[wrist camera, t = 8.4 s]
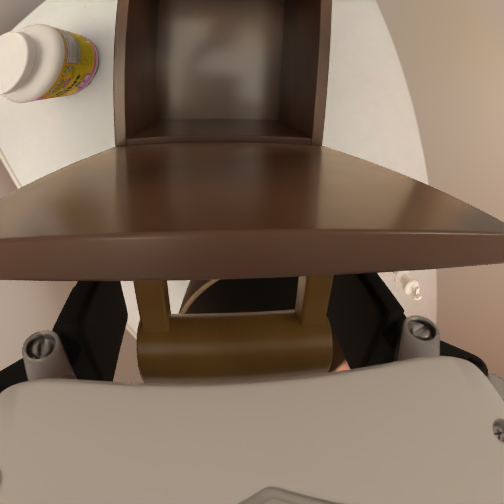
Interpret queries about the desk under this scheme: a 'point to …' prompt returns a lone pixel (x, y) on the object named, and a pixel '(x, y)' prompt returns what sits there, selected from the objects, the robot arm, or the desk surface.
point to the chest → (221, 71)
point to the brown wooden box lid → (234, 243)
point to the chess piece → (407, 283)
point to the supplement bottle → (44, 63)
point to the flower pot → (248, 300)
